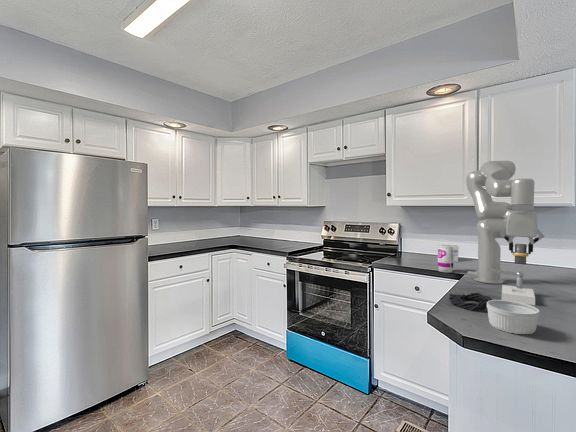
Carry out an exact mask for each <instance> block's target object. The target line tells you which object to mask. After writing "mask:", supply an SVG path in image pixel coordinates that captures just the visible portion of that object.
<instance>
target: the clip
mask: <svg viewBox="0 0 576 432" xmlns="http://www.w3.org/2000/svg"><path fill="white" fill-rule="evenodd" d="M488 272H491V273H500V274H505V275H513V276H517V275H518V276H523V277H524V276H525V275H524V272H523V271H513V270H508V269H507V270H506V269H505V270H504V269H500V270H499V269H495V268H489V270H488Z"/></svg>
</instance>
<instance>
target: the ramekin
mask: <svg viewBox="0 0 576 432" xmlns="http://www.w3.org/2000/svg"><path fill="white" fill-rule="evenodd" d="M487 316H488V321H489V324H490V325H491V326H492V327H493V328H494V327H495V328H494V329H496V330H498V329H499V330H498V331H500V330H502V331H501V332H503V331H505V332H504V333H507V332H509V333H508V334H511V333H514V334H513V335H517V334H530V335H532V334H534V333H535V332H536V330H537V327H538V326H537V325H538V321H539V317H540V316H541V315H540V310H539V309H538V308H537V307H535V306H534V305H529V304H524V303H519V302H514V301H507V300H502V299H492V300H491V301H488V302H487Z"/></svg>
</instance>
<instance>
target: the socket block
mask: <svg viewBox="0 0 576 432" xmlns="http://www.w3.org/2000/svg"><path fill="white" fill-rule="evenodd" d="M523 277H524V276H518V275H516V286H515V285H505V284H501V285H502V287H501V300H507V301H514V302H519V303H524V304H527V305H530V306H536V295H535V292H534V289H533V288H531V287H523V281H524V280H523V279H524V278H523Z"/></svg>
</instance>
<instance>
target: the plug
mask: <svg viewBox="0 0 576 432" xmlns="http://www.w3.org/2000/svg"><path fill="white" fill-rule="evenodd" d="M527 247H528V244H526V243H514V251H513V253H512V255H513V256H514V264H516V265H517V264H518V265H527V257H529V255H530V254H528V251H527Z"/></svg>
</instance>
